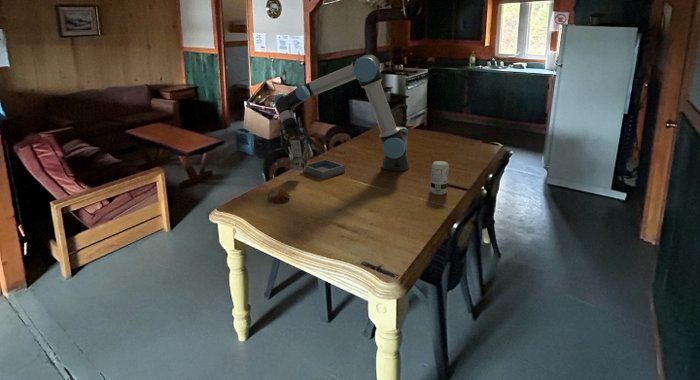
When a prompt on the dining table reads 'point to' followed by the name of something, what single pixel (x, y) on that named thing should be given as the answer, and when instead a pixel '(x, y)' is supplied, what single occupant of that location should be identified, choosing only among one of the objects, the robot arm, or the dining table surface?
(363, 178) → the dining table surface
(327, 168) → the tray
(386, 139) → the robot arm
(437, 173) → the supplement can
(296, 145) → the coffee box
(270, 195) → the bread roll
